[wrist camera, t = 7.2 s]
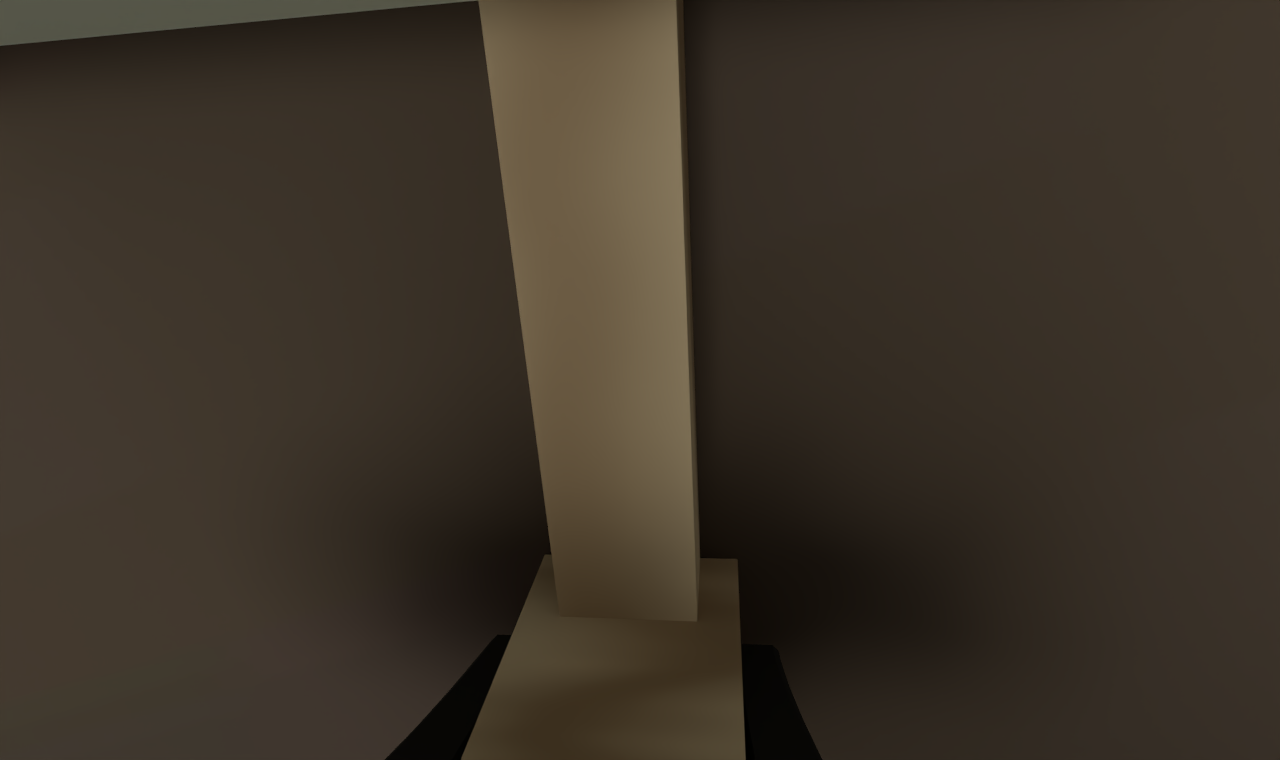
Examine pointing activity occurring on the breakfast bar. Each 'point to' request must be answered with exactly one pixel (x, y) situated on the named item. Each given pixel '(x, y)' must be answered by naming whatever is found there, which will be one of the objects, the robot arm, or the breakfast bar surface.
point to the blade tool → (608, 396)
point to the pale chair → (160, 15)
